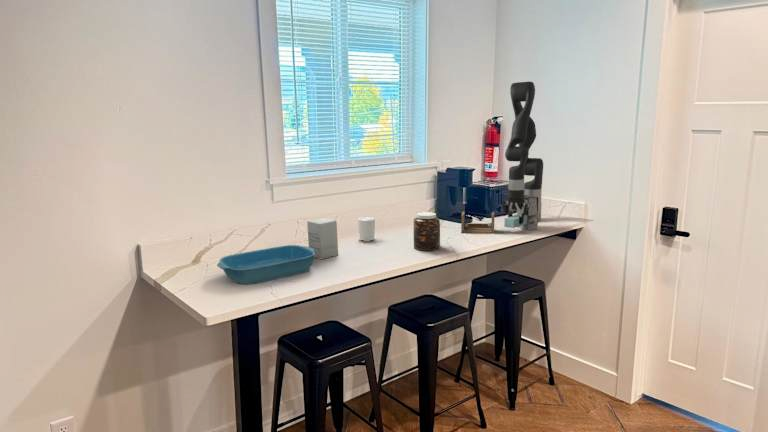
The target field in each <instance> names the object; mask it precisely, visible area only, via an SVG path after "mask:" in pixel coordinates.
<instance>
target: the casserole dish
mask: <svg viewBox="0 0 768 432" xmlns="http://www.w3.org/2000/svg"><path fill="white" fill-rule="evenodd" d="M314 251H315V250H314V249H313V248H311V247H309V246H303V245H296V244H295V245H294V244H290V245H289V244H288V245H280V246H275V247H268V248H263V249H257V250H251V251H246V252H240V253H235V254H229V255H226V256H224V257H221V258H220V259H219V262H217V265H216V266H217V267H218V268H219V269H220V270H223V272H224V274H225V275H226V276H227V277H228V278H230V280H232V281H233V282H235V283H237V284H240V285H250V283H252V284H257V282H258V283H263V282H267V280H268V281H272V279H273V280H278V279H280V278H282V279H283V278H285V277H290V276H294V275H295V276H296V275H299V274H303V273H306V272H307V271H309V270H310V269H311V267H312V265H313V263H314V259H315V257H314V255H315V253H314ZM262 281H263V282H262Z"/></svg>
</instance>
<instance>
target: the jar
mask: <svg viewBox="0 0 768 432" xmlns="http://www.w3.org/2000/svg"><path fill="white" fill-rule="evenodd" d="M440 248H441V221H440V218H438V216H437V213H435V212H431V211H429V212H428V211H423V212H418V213H417V214H416V217H415V218H414V219H413V249H414V250H417V251H420V252H433V251H438V250H439V249H440Z"/></svg>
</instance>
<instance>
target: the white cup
mask: <svg viewBox="0 0 768 432" xmlns="http://www.w3.org/2000/svg"><path fill="white" fill-rule="evenodd" d="M357 222H358V234H359V241H361V240H364V241H363V242H370V241H369V240H373V241H374V240H375V235H376V234H375V232H376V231H375V230H376V218H375V217H371V216H370V217H366V216H365V217H364V216H363V217H358V218H357Z"/></svg>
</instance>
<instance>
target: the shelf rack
mask: <svg viewBox="0 0 768 432" xmlns="http://www.w3.org/2000/svg"><path fill="white" fill-rule="evenodd" d="M465 213H466V212H465V211H462V212H461V221H460V222H461V223H460V224H461V225H460V227H461V228H460V230H461V231H460V233H461V234H493V235H494V234H495V212H493V211H492V212H491V222H487V223H480V222H479V223H478V222H477V223H474V222H473V223H472V222H471V223H469V222H465V217H466V216H465V215H466V214H465Z"/></svg>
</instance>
